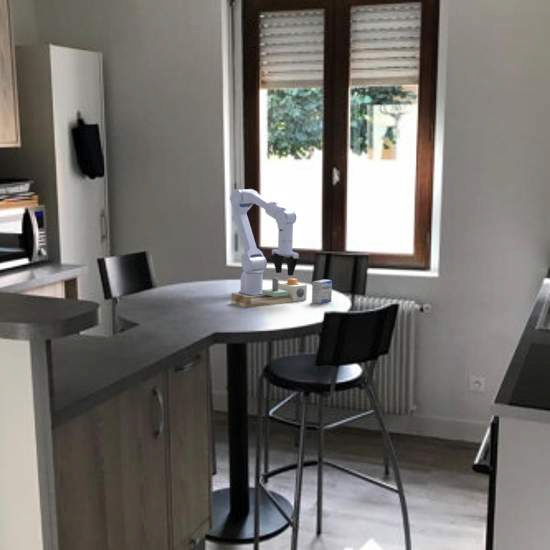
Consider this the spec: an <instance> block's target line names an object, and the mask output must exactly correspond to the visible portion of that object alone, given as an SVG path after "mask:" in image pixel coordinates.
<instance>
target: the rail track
mask: <svg viewBox="0 0 550 550" xmlns="http://www.w3.org/2000/svg"><path fill="white" fill-rule="evenodd" d="M291 302H294V301H293V298H291V295H286V296H279V297H273V296H269V295H265V294H259V295H246V294H243V293H242V294H241V293H238V292H232V293H231V304H233V305H237V306H240V307H245V308H254V307H255V308H256V307H261V306H268V305H275V304H277V305H278V304H283V303H291Z"/></svg>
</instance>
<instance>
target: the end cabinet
mask: <svg viewBox="0 0 550 550" xmlns="http://www.w3.org/2000/svg"><path fill="white" fill-rule="evenodd" d="M307 286H308V284H304V283H300V282H297V285H288V284H287V281H283V282H278V289H281V290H285V291H288V295H291V298H293V301H292V302H298V301H305V300H307V294H308V293H307V291H308V290H307Z"/></svg>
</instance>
